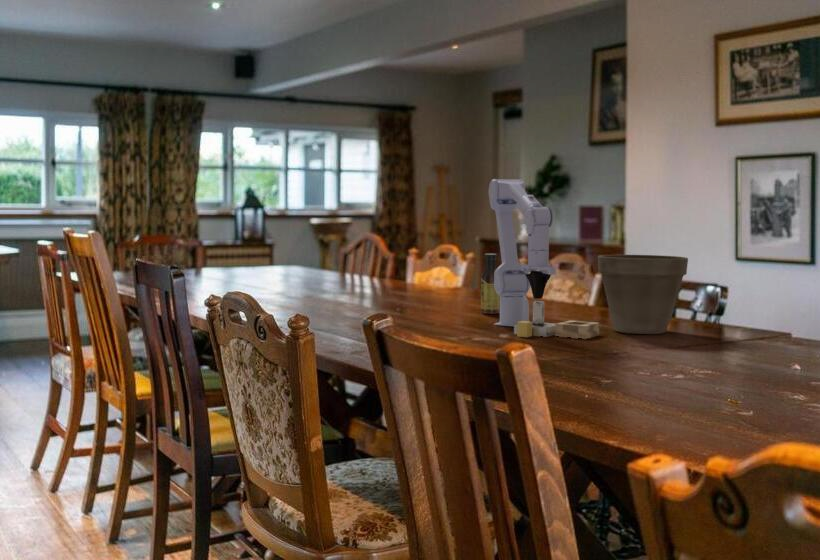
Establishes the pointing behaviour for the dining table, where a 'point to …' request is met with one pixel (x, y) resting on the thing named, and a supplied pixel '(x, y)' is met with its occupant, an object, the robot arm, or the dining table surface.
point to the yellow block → (524, 329)
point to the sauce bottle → (489, 287)
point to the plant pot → (641, 290)
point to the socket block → (541, 330)
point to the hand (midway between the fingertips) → (537, 298)
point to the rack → (577, 329)
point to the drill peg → (538, 313)
